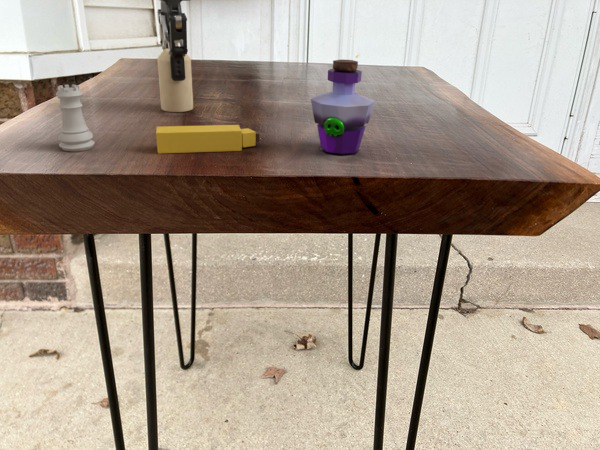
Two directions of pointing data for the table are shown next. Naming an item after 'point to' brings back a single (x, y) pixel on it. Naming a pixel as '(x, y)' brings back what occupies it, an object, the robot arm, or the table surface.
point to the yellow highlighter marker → (204, 138)
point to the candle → (174, 85)
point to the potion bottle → (342, 111)
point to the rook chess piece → (73, 121)
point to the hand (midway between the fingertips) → (175, 76)
